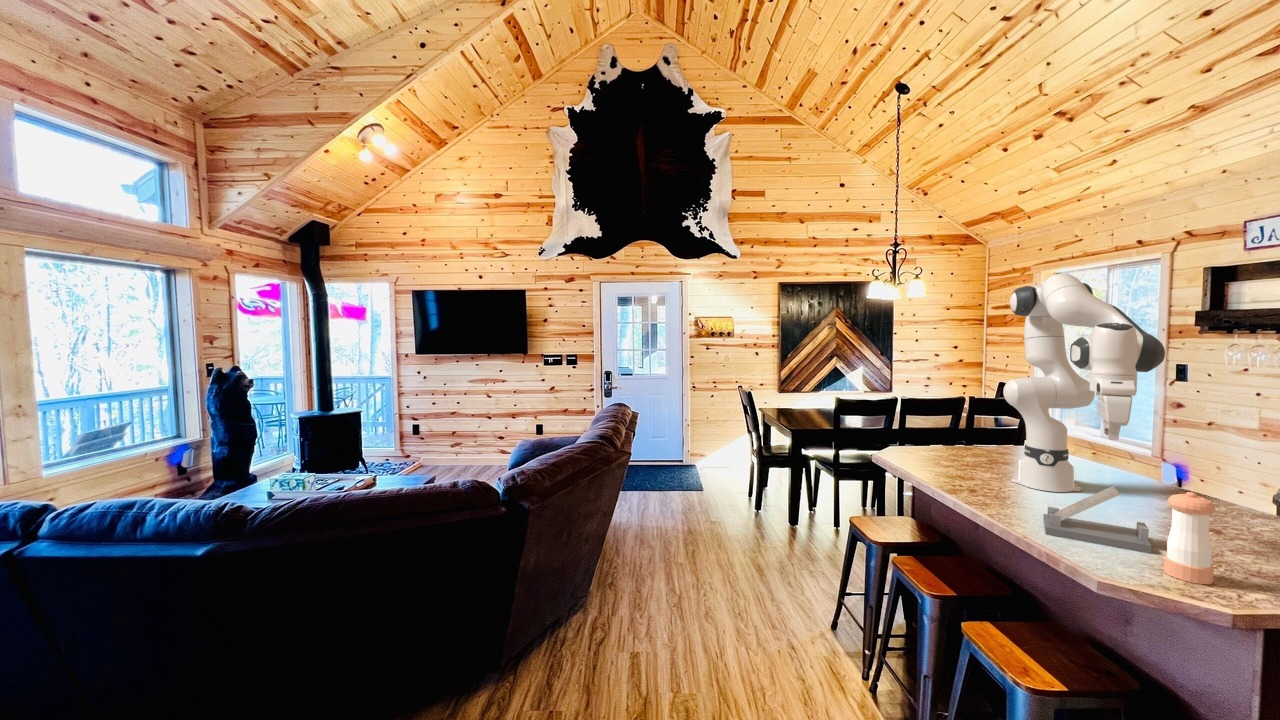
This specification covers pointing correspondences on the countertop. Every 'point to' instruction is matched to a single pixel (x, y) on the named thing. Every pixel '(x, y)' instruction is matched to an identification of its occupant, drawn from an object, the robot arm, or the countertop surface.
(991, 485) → the countertop surface
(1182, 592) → the countertop surface
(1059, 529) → the clamp board
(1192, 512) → the pepper shaker
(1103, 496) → the clamp lever
